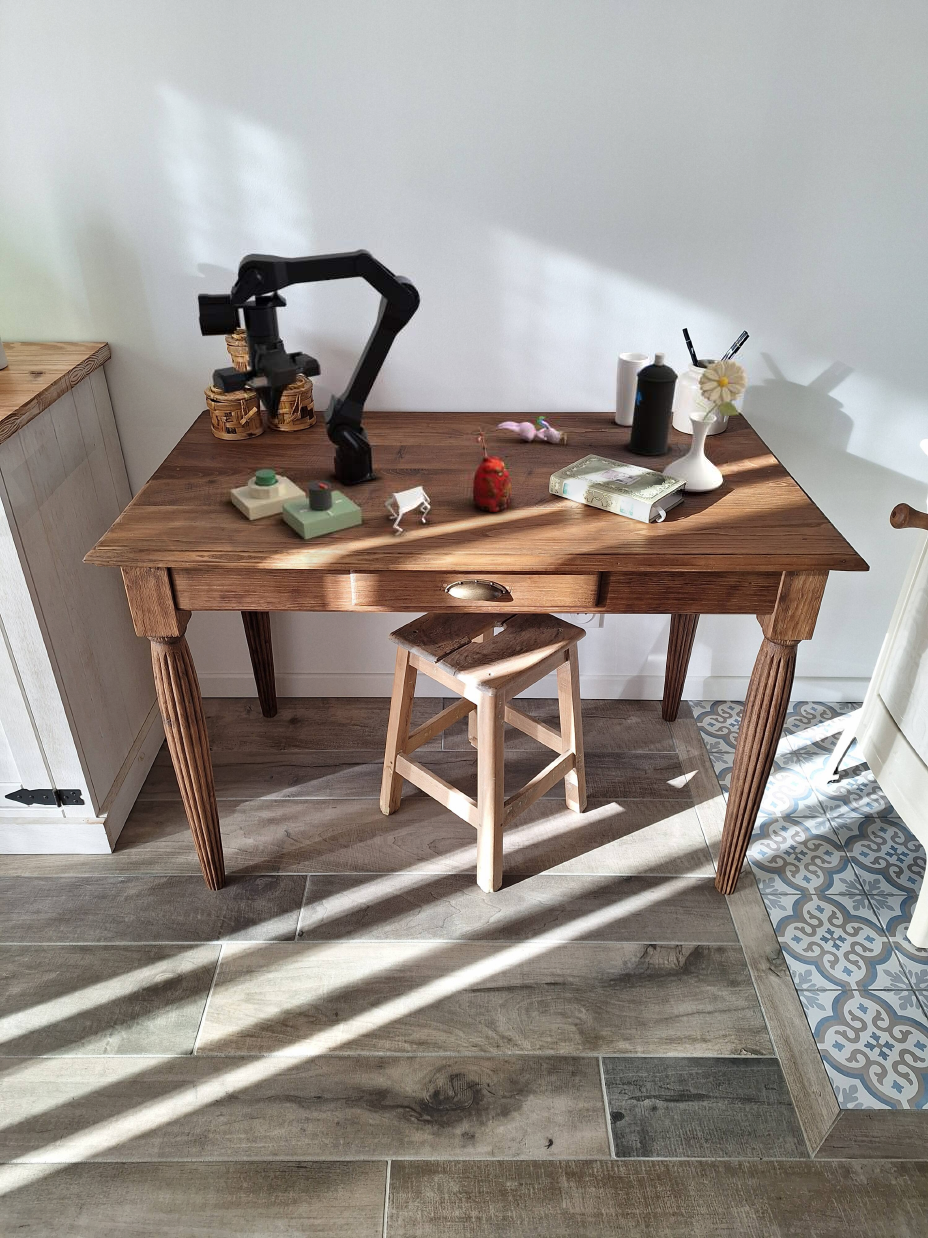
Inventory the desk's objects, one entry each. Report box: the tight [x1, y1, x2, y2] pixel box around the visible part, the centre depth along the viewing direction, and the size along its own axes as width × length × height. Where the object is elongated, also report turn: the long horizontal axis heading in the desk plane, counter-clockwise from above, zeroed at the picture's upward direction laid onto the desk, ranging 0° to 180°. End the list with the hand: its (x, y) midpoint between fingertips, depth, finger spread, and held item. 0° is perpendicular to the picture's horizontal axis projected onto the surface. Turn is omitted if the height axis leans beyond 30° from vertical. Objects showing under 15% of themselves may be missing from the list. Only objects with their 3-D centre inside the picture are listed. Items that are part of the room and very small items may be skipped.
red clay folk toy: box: [472, 426, 512, 513], centre depth 153 cm, size 8×7×15 cm
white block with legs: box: [384, 485, 431, 536], centre depth 149 cm, size 12×8×5 cm
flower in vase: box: [662, 358, 748, 493], centre depth 158 cm, size 13×11×25 cm
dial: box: [307, 480, 333, 511], centre depth 148 cm, size 4×4×4 cm
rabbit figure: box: [497, 416, 568, 445], centre depth 182 cm, size 6×6×15 cm
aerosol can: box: [627, 352, 679, 457], centre depth 175 cm, size 8×8×20 cm
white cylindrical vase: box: [614, 352, 650, 427], centre depth 190 cm, size 7×7×15 cm
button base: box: [229, 474, 307, 521], centre depth 156 cm, size 11×9×4 cm
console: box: [282, 490, 363, 540], centre depth 150 cm, size 11×9×3 cm
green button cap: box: [254, 468, 277, 486], centre depth 154 cm, size 4×4×2 cm
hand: (273, 418), depth 158 cm, fingers closed
